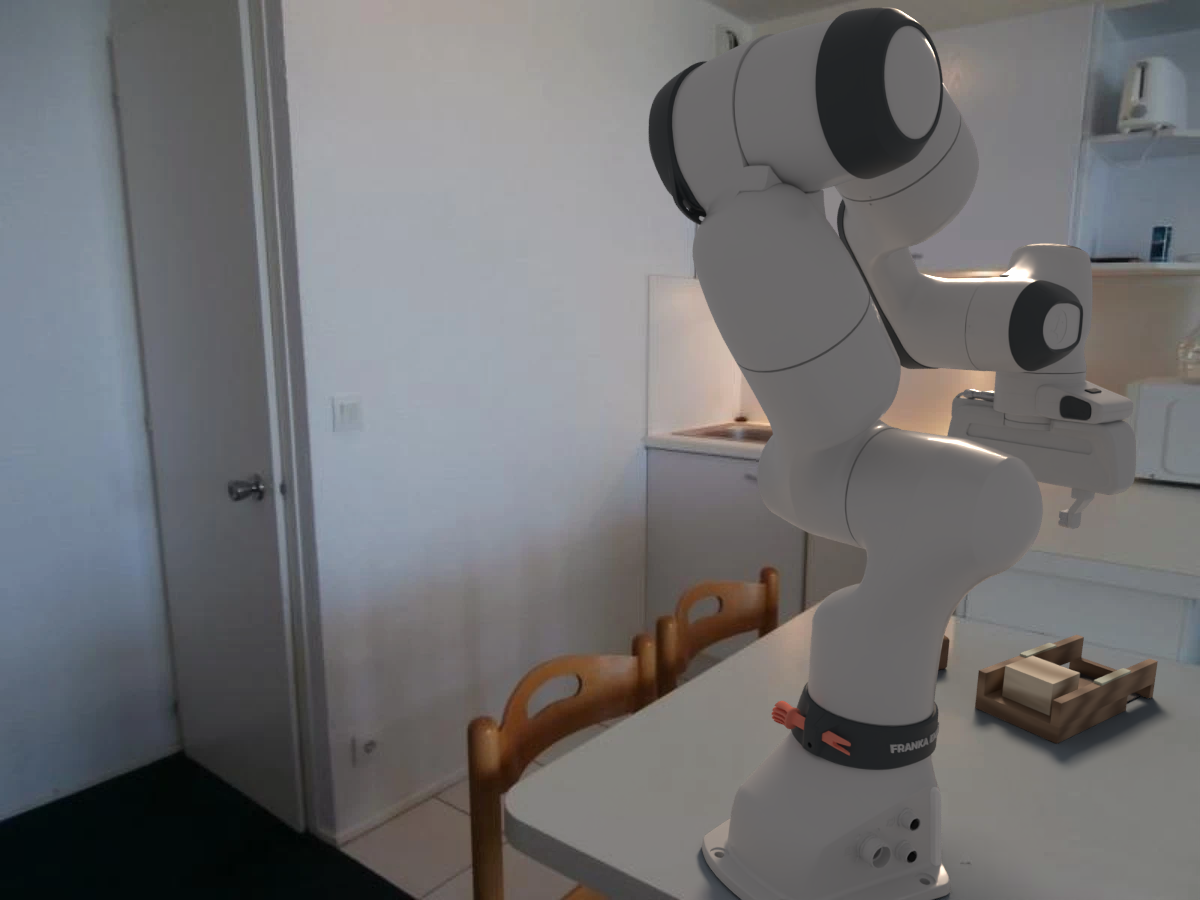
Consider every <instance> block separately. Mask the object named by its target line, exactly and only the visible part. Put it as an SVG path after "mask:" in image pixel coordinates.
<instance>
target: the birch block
mask: <svg viewBox="0 0 1200 900" xmlns="http://www.w3.org/2000/svg"><path fill="white" fill-rule="evenodd" d="M1079 678H1080V673H1079V672H1076V671H1073V670H1070V669H1069V667H1068V668H1067V667H1064V666H1063V665H1061V666H1059V665H1057V664H1054V663H1051V662H1048V661H1046V660H1043V659H1040V658H1037V657H1035V656H1030V657H1028V658H1025V659H1022V660H1019V661H1017V662H1014V663H1011V664H1009V665H1006V666H1005V674H1004V683H1003V692H1002V696H1003V697H1006V698H1008V699H1011V700H1013V701H1015V702H1018V703H1020V704H1023V705H1025V706H1027V707H1030V708H1032V709H1035V710H1037V711H1039V712H1042V713H1044V714H1047V715H1049V716H1050V715H1051V713H1052V704H1053V700H1054V699H1057V698H1059V697H1061V696H1064V695H1066V694H1068V693H1070V692H1073V691H1075V690H1077V689H1078V686H1079Z"/></svg>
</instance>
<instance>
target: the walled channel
mask: <svg viewBox="0 0 1200 900" xmlns="http://www.w3.org/2000/svg"><path fill="white" fill-rule="evenodd" d="M1084 638H1085V637H1084V636H1082V635H1079V634H1074V635H1072V636H1069V637H1066V638H1064V639H1061V640H1058V641H1055V642H1053V643H1052V642H1046V643H1045V644H1042V645H1041V644H1040V645H1039V646H1036V647H1033V648H1031V649H1028V650H1025V651H1022V652H1020V653H1019V655H1017V656H1015V657H1011V658H1008V659H1006V660H1003V661H1000V662H998V663H995V664H992V665H990V666H987V667H984V668H982V669H981V668H980V669H979V670H978V673H977V674H978V675H977V683H976V684H977V685H976V693H975V695H976V696H975V706H974V709H977V710H979V711H982V712H984V713H986V714H988V715H990V716H993V717H995V718H998V719H1000V720H1002V721H1004V722H1006V723H1007V724H1008V723H1009V724H1010V725H1013V726H1015V727H1018V728H1020V729H1023V730H1025V731H1027V732H1029V733H1031V734H1034V735H1036V736H1038V737H1040V738H1043V739H1045V740H1047V741H1049V742H1052V743H1054V744H1059V743H1062V742H1064V741H1065V740H1068V739H1070V738H1071V737H1074V736H1076V735H1078V734H1080V733H1082V732H1085V731H1086V730H1089V729H1090V728H1092V727H1095V726H1096V725H1099V724H1100V723H1104V722H1105V721H1107V720H1109V719H1112V718H1113V717H1115V716H1117V715H1120V714H1121V713H1124V712H1125V711H1127V705H1128V703H1130V702H1132V701H1134V700H1136V699H1138V698H1140V697H1142V696H1143V697H1142V698H1144V697H1146V698H1145V699H1147V698H1150V699H1152V698H1153V697H1154V690H1155V682H1156V677H1157V676H1156V675H1157V669H1158V662H1159V661H1157V660H1155V659H1152V658H1147V659H1145V660H1143V661H1141V662H1139V663H1135V664H1133V665H1131V666H1129V667H1125V668H1124V667H1122V668H1120V669H1116V668H1112V667H1109V666H1107V665H1104V664H1102V663H1100V662H1095V661H1093V660H1090V659H1087V658H1084V657H1082V655H1083V647H1084V640H1085V639H1084ZM1030 656H1035V657H1037V658H1040V659H1043V660H1046V661H1048V662H1051V663H1054V664H1057V665H1059V666H1063V665H1066V664H1068V663H1069V665H1068V669H1070V670H1073V671H1076V672H1079V673H1080V678H1079V686H1078V689H1077V690H1075V691H1073V692H1070V693H1068V694H1066V695H1064V696H1061V697H1059V698H1057V699H1054V700H1053V704H1052V713H1051V715H1050V716H1049V715H1047V714H1044V713H1042V712H1039V711H1037V710H1035V709H1032V708H1030V707H1027V706H1025V705H1023V704H1020V703H1018V702H1015V701H1013V700H1011V699H1008V698H1006V697H1003V696H1002V692H1003V683H1004V674H1005V666H1006V665H1009V664H1011V663H1014V662H1017V661H1019V660H1022V659H1025V658H1028V657H1030ZM1139 696H1140V697H1139ZM1137 697H1138V698H1137ZM1151 697H1152V698H1151ZM1135 698H1136V699H1135ZM1133 699H1134V700H1133ZM1131 700H1132V701H1131ZM1129 701H1130V702H1129Z"/></svg>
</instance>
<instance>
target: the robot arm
mask: <svg viewBox="0 0 1200 900" xmlns="http://www.w3.org/2000/svg"><path fill="white" fill-rule="evenodd" d="M941 65H942V64H941V61H940V57H939V52H938V50H937V47H936V45H935V42H934V41H933V38H932V36H931V35H930V34H929V33H928V31H927V30H926V29H925V27H923V25H921V23H919V22H918V21H917V20H915V19H914V18H913V17H911V16H910V15H908V14H907V13H905V12H903V11H902V10H901V9H897V8H894V7H884V6H883V7H882V6H881V7H867V8H859V9H854V10H849V11H845V12H842V13H841V14H839V15H838V16H837V17H836V18H835V19H829V20H825V21H820V22H816V23H811V24H806V25H802V26H799V27H796V28H791V29H788V30H785V31H781V32H779V33H769V34H764V35H761V36H759V37H756V38H753V39H752V40H751V39H750V40H749V41H746V42H743V43H742V44H740V45H737V46H734V47H733V48H730V49H729V50H727V51H724V52H723V53H721V54H717V56H715V57H713V58H712V59H709V60H707V61H705V60H704V61H699V62H695V63H693V64H692V65H689V66H688V67H687V68H685V69H684V70H682V71H680V72H679V73H678V74H676V75H675V76H673V77H672V78H671V79H669V80H668V81H667V82H666V83H665V84H664V85H663V86H662V88H661V89H660V90H659V91H658V92H657V94H656V95H655V96H654V99H653V101H652V104H651V106H650V109H649V116H648V117H649V118H648V132H647V133H648V146H649V152H650V156H651V159H652V161H653V164H654V167H655V169H656V172H657V174H658V176H659V178H660V181H661V182H662V184H663V187H664V188H665V190H666V191H667V192H668V193H669V194H670V196H671V197H672V200H673V202H674V204H675V206H676V207H677V209H678V210H679V211H680V212H681V213H682V214H683V216H685V217H686V218H687V219H689V220H690V221H691V222H693V223H695V224H696V225H698V228H697V230H696V232H695V236H694V238H693V244H692V260H693V265H694V269H695V273H696V275H697V279H698V282H699V285H700V288H701V290H702V293H703V296H704V299H705V301H706V304H707V306H708V309H709V311H710V313H711V316H712V319H713V320H714V323H715V325H716V327H717V330H718V331H719V333H720V335H721V338H722V340H723V341H724V344H725V345H726V347H727V349H728V351H729V352H730V354H731V356H732V358H733V359H734V361H735V363H736V365H737V366H738V369H740V372H741V373H742V375H743V376H744V379H745V380H746V383H747V384H748V386H749V387H750V389H751V391H752V393H753V394H754V396H755V398H756V400H757V402H758V404H759V405H760V407H761V409H762V411H763V413H764V414H765V416H766V418H767V420H768V423H769V425H770V428H771V431H772V435H771V436H770V438H769V439H768V440H767V442H766V443H765V444H764V447H763V449H762V451H761V453H760V457H759V461H758V464H757V473H756V480H757V481H756V482H757V488H758V492H759V495H760V498H761V501H762V503H763V504H764V506H765V507H766V508H767V510H769V512H771V513H772V514H774V515H775V516H777V517H779V518H781V519H782V520H784V521H786V522H787V523H789V524H791V525H792V526H794V527H797V529H800V530H803V531H804V532H806V533H808V534H810V535H813V536H817V537H821V538H824V539H828V540H831V541H835V542H839V543H842V544H845V545H850V546H853V547H856V548H860V549H863V550H865V551H866V567H865V569H864V575H863V577H862V580H861V582H860V583H855V584H851V585H848V586H845V587H843V588H840V589H837V590H836V591H833V592H832V593H830V594H829V595H828V596H826V597H825V598H824V600H822V602H820V604H819V605H818V606H817V608H816V609H815V611H814V614H813V617H812V620H811V634H810V636H811V637H810V649H809V665H808V678H807V680H808V681H807V682H806V683H805V684H804V687H803V689H802V691H801V694H800V696H799V699H798V701H797V705H796V707H793V706H792V705H791V704H790V703H789V702H786V701H785V700H779V701H777V702H776V703H775V704H774V707H772V710H771V711H772V712H771V719H772V720H773V721H774V722H775V723H777V724H780V725H783V726H784V727H785V728H786V729H787V730H789V732H788V733H787V735H786V736H785V737H784V738H783V739H782V740H780V742H779V743H778V744H777V745H776V746H775V748H773V750H771V752H770V753H769V754H768V755H767V756H766V757H765V759H764V760H763V761H762V762H761V763H760V764H759V765H758V766H757V767H756V768H755V769H754V770H753V771H752V772H751V774H749V776H748V777H747V778H746V779H745V780H744V781H743V782H742V783H741V784H740V786H739V787H738V788H737V790H736V792H735V795H734V798H733V802H732V807H731V812H730V818H728V819H727V820H725V821H723V822H722V823H720V824H719V825H718V826H716V827H715V828H713V829H712V830H710V831H708V832H707V833H706V834H705V835H704V836H703V837H702V843H701V851H702V855H703V857H704V860H705V861H706V863H707V865H708V867H709V869H710V870H712V872H713V873H714V874H715V877H716V878H718V879H719V881H721V883H722V884H723V885H724V886H726V887H727V888H728V889H729V890H730V891H731V892H732V893H733V894H734V895H736V897H738V898H739V899H740V900H935V899H938V898H941V897H945V896H947V895H949V893H950V892H951V878H950V875H949V873H948V871H947V870H946V868H945V866H944V864H943V862H942V796H941V791H940V786H939V785H938V781H937V777H936V773H935V768H934V764H933V758H932V755H933V753H934V752H935V750H936V748H937V741H938V735H939V731H940V721H939V706H938V705H937V702H936V701H935V700H936V699H935V697H936V690H937V681H938V673H939V670H938V668H939V661H940V655H941V649H942V643H943V638H944V635H945V633H946V630H947V627H948V625H949V623H950V620H951V618H952V615H953V614H954V613H955V611H956V609H957V607H958V606H959V604H960V603H961V601H962V600H963V599H964V598H965V597H966V596H967V595H968V594H969V593H971V591H972V590H974V589H975V588H976V587H977V586H979V585H980V584H981V583H983V582H985V581H987V580H988V579H990V578H992V577H995V576H997V575H1000V574H1002V573H1004V572H1006V571H1007V570H1009V569H1011V568H1012V567H1013V566H1015V565H1016V564H1018V562H1020V560H1022V559H1023V558H1024V556H1025V555H1026V554H1027V553H1028V552H1029V551H1030V549H1031V548H1032V546H1033V544H1034V542H1035V541H1036V539H1037V537H1038V535H1039V532H1040V529H1041V526H1042V521H1043V512H1044V509H1043V498H1042V493H1041V489H1040V486H1039V483H1042V484H1049V485H1054V486H1059V487H1064V488H1069V489H1071V493H1070V497H1071V499H1075V500H1074V502H1073V503H1072V505H1071V506H1070V507H1069V508H1066V509H1063V510H1059V511H1058V512H1059V515H1058V518H1059V520H1058V526H1059V527H1061V528H1062V527H1063V528H1065V529H1066V528H1067V529H1070V530H1075V529H1078V528H1079V527H1080V526H1081V521H1082V514H1083V513H1082V512H1084V511H1085V509H1086V508H1088V506H1089V505H1090V504H1091V502H1092V501H1093V500H1094V499H1095V497H1096V496H1095V495H1096V494H1100V495H1105V496H1114V495H1118V494H1121V493H1124V492H1126V491H1127V490H1128V489H1129V488H1131V487H1132V486H1133V484H1134V482H1135V476H1136V468H1137V467H1136V466H1137V441H1136V439H1137V438H1136V434H1135V432H1134V429H1133V427H1132V425H1130V424H1129V423H1128V422H1126V421H1125V420H1126V419H1129V418H1130V417H1131V416H1132V414H1133V413H1134V402H1133V400H1132V399H1130V398H1129V397H1127V396H1124V395H1121V394H1119V393H1117V392H1114V391H1112V390H1109V389H1106V388H1105V387H1102V386H1100V385H1098V384H1095V383H1093V382H1091V381H1088V380H1087V378H1086V377H1087V362H1086V357H1085V346H1086V342H1087V340H1088V337H1089V335H1090V332H1091V328H1092V316H1093V302H1094V301H1093V297H1094V296H1093V292H1094V291H1093V289H1094V287H1093V271H1092V264H1091V263H1092V261H1091V258H1090V255H1089V253H1088V252H1086V251H1084V250H1083V249H1082V248H1080V247H1077V246H1073V245H1069V244H1058V243H1033V244H1032V243H1031V244H1026V245H1022V246H1019V247H1017V248H1015V249H1014V250H1013V251H1012V253H1011V256H1010V259H1009V263H1008V267H1007V271H1005V272H1003V273H1001V274H999V276H997V277H996V276H995V277H971V278H970V277H969V278H968V277H966V278H965V277H963V278H959V277H958V278H957V277H956V278H949V277H938V276H932V275H929V274H925V273H922V272H921V271H919V269H918V267H917V265H916V263H915V260H914V258H913V255H912V253H911V250H910V248H909V247H913V246H916V245H919V244H921V243H924V242H926V241H928V240H929V239H931V238H933V237H934V236H936V235H938V234H939V233H940V232H942V231H943V230H944V229H946V227H947V226H949V225H950V224H951V223H952V222H953V221H954V220H955V218H956V217H958V215H959V214H960V213H961V211H962V210H964V208H965V206H966V205H967V203H968V201H969V200H970V198H971V195H972V194H973V191H974V189H975V187H976V183H977V179H978V176H979V175H978V174H979V169H980V167H979V166H980V159H979V154H978V153H979V152H978V149H977V145H976V141H975V139H974V136H973V133H972V131H971V128H969V127H970V126H969V125H968V124H967V122H966V120H965V118H964V116H963V114H962V112H961V111H960V109H959V108H958V106H957V104H956V101H954V98H953V97H952V95H951V93H950V91H949V90H948V88H947V86H946V85H945V84H944V79H943V71H942V66H941ZM833 187H834V188H835V189H836V191H837V193H838V194H839V195H840V197H841V201H840V203H839V207H838V209H837V217H836V226H837V227H836V228H837V231H836V230H835V229H834V227H833V226H832V225H831V223H830V221H829V220H828V219H827V215H826V208H825V196H824V195H825V193H824V190H825V189H828V188H833ZM700 217H702V218H703V219H702V220H701V219H700ZM901 367H903V368H905V369H908V370H932V369H933V370H936V369H947V370H950V369H951V370H963V371H975V372H977V371H978V372H995V377H994V379H995V380H994V389H993V390H994V391H993V390H977V389H975V388H973V389H972V388H968V389H964V390H963V391H961V392H959V393H958V394H957V395H956V396H955V397H954V398H953V400H952V401H951V402H952V403H951V419H950V423H949V426H948V430H947V435H942V434H936V433H928V432H923V431H921V432H920V431H916V430H915V431H914V430H909V429H907V430H906V429H901V428H898V427H894V426H891V425H889V424H887V423H886V422H884V421H882V420H881V418H882V417H884V415H885V414H886V413H887V412H888V410H889V409H890V407H891V406H892V405H893V403H894V401H895V399H896V397H897V394H898V391H899V387H900V381H901V374H902V372H901V371H902V368H901ZM962 396H963V397H962ZM1095 493H1096V494H1095Z"/></svg>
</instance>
